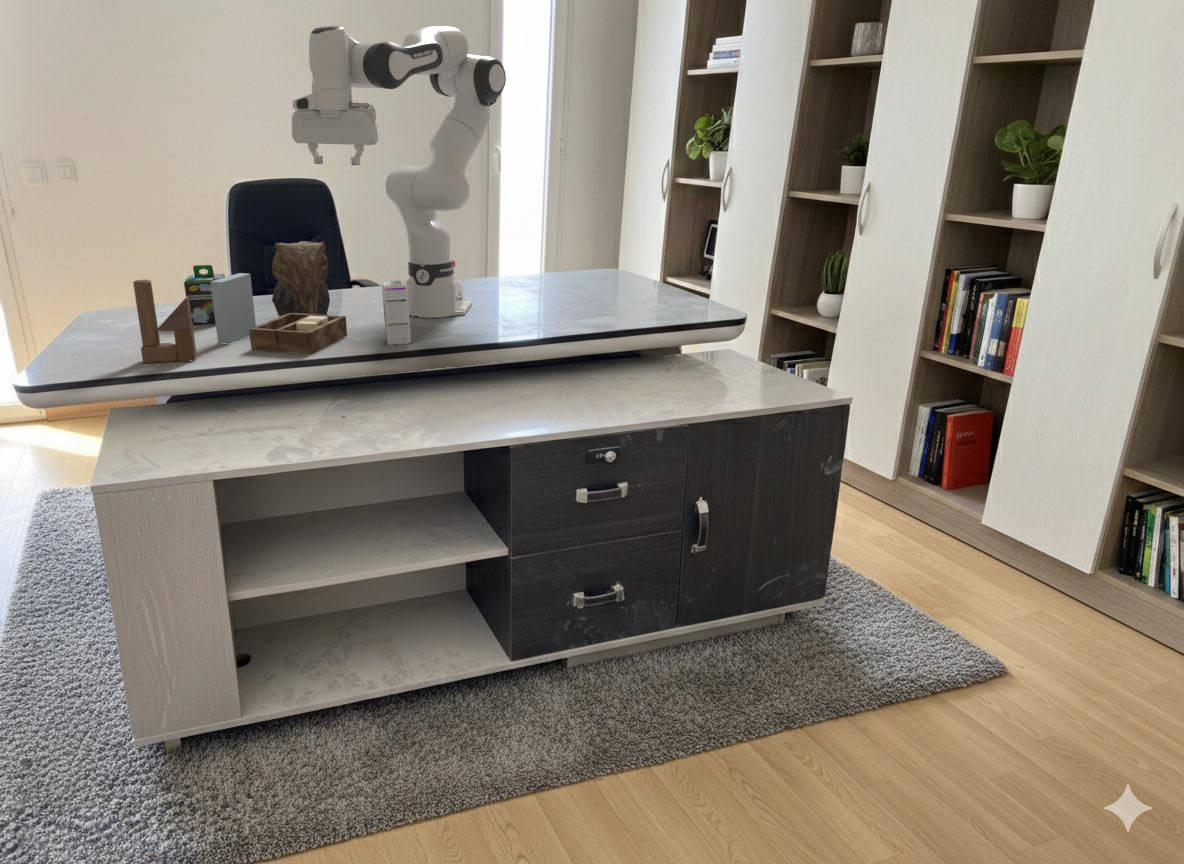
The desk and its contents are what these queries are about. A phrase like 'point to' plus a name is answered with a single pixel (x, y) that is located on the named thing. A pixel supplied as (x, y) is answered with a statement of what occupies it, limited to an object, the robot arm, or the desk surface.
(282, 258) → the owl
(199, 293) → the chalk box
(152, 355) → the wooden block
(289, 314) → the walnut rack
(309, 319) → the short pine offcut
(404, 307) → the syrup box
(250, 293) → the tall sheet
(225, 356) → the desk surface
